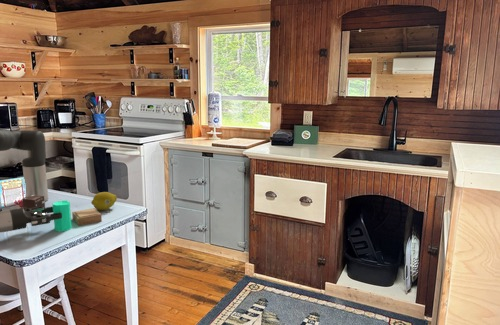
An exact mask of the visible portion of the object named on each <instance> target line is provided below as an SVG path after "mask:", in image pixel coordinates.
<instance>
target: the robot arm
mask: <svg viewBox="0 0 500 325" xmlns="http://www.w3.org/2000/svg"><path fill="white" fill-rule="evenodd" d="M10 149H13V150H14V149H15V150H20V151H26V152H27V151H31V152H32V153H31V155H30V156H28V157H26V158H23V159H22V160H21V163H22V164H21V165H22V173H23V180H24V179H25V183H26V195H25V198H26V197H28V196H31V195H39V196H44V201H45V202H47V201H48V200H49V190H48V180H47V179H48V178H47V168H46V167H47V166H46V156H47V155H46V154H47V152H46V137H45V135H44V133H43V132H42V131H41V130H27V129H25V130H15V131H11V130H9V129H7V128H1V127H0V152H4V151H9V150H10ZM25 210H26V212H25V211H24V209H23V207H21V208H15V209H7V210H2V211H0V233H7V232H8V233H9V232H12V231H17V230H18V231H19V230H23V229H26V228H27V224H30V225H31V227H34V226H35V227H36V226H42V225H49V224H50V223H51V222H52V221H54V220H55V219H61V218H62V213H61V212H60V213H54V214H53V206H48V207H47V206H45V207H43V206H39V207H33V208H27V209H25Z"/></svg>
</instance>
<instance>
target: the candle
mask: <svg viewBox="0 0 500 325" xmlns="http://www.w3.org/2000/svg"><path fill="white" fill-rule="evenodd" d="M52 207H53V212H52V214H54V213H60V212H61V213H62V218H61V219H55V220H53V224H54V225H53V226H54V231H56V232H67V231H69V230H71V229H72V228H73V226H72V217H71V216H72V215H71V214H72V212H71V203H70V201H68V200H58V201H56V202H53V203H52Z"/></svg>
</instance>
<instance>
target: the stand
mask: <svg viewBox="0 0 500 325" xmlns="http://www.w3.org/2000/svg"><path fill="white" fill-rule="evenodd" d="M71 214H72V215H71V216H72V220H73V221H74V222H75V224H76V225H77V226H78V227H80V226H83V225H90V224H95V223H98V222H102V213H100V212H99V210H97V209H96V208H95V207H93V208H89V209H82V210H77V211H72V212H71Z"/></svg>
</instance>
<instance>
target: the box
mask: <svg viewBox="0 0 500 325" xmlns="http://www.w3.org/2000/svg"><path fill="white" fill-rule="evenodd" d="M45 202H46V201H44V196H39V195H31V196H28V197H26V196H25V197H24V198H22V208H23V209H24V211H25V212H26V210H25V209H27V208H33V207H39V206H43V207H45V208H46V203H45Z"/></svg>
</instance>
